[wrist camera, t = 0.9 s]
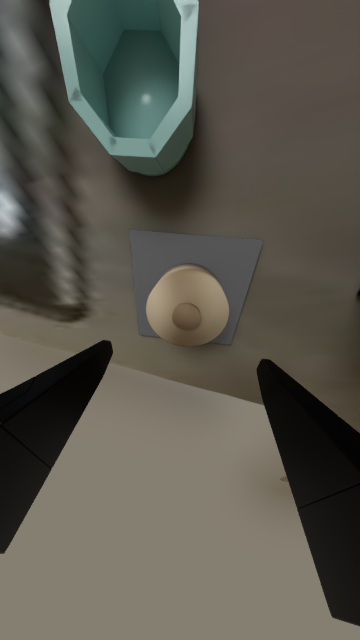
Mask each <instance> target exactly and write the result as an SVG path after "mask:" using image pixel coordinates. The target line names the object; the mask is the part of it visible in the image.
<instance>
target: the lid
mask: <svg viewBox="0 0 360 640" xmlns="http://www.w3.org/2000/svg"><path fill="white" fill-rule="evenodd" d="M146 314H147V318H148V321H149V324H150V325H151V327H152V329H153V330H154V331H155V332H156V333H157V334H158V335H159V336H160V337H161V338H162V339H164V340H166V341H168V342H170V343H172V344H175V345H179V346H187V347H190V346H198V345H202V344H205V343H207V342H210V341H211V340H213V339H214V338H216V337H217V336H218V335H219V334H220V333H221V332H222V330H223V329H224V327H225V326H226V324H227V321H228V317H229V305H228V301H227V298H226V296H225V294H224V291H223V289H222V287H221V284H220V282H219V280H218V278H217V277H216V276H215V274H214V273H213V272H212V271H210V270H209V269H208V268H206V267H204V266H202V265H199V264H194V263H184V264H179V265H176V266H174V267H172V268H170V269H169V270H168V271H166V272H165V274H164V275H163V276H162V277H161V279H160V280H159V281H158V283H157V284H156V286H155V287H154V288H153V290H152V291H151V293H150V295H149V297H148V300H147V304H146Z"/></svg>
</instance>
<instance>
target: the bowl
mask: <svg viewBox="0 0 360 640" xmlns="http://www.w3.org/2000/svg"><path fill="white" fill-rule="evenodd" d="M49 1H50V3H49V4H50V9H51V14H52V19H53V24H54V29H55V34H56V39H57V44H58V49H59V54H60V59H61V64H62V69H63V74H64V79H65V84H66V89H67V94H68V99H69V101H70V104H71V105H72V106H73V107H74V109H75V110H76V111H77V113H78V114H79V115H80V116H81V118H82V119H83V120H84V122H85V123H86V124H87V125H88V127H89V128H90V129H91V131H92V132H93V133H94V134H95V136H96V137H97V138H98V140H99V141H100V142H101V143H102V145H103V146H104V147H105V149H106V150H107V151H108V152H109V154H110V155H111V156H112V157H114V158H115V159H116V160H117V161H118V162H119V163H121V164H122V165H123V166H124V167H125V168H127V169H128V170H129V171H130V172H138V173H140V174H142V175H145V176H160V175H163V174H165V173H167V172H169V171H171V170H172V169H173V168H174V167H175V166H176V165H177V164H178V163H179V162H180V160H181V159H182V158H183V156H184V154H185V152H186V151H187V148H188V146H189V144H190V141H191V139H192V138H193V131H194V124H195V115H196V91H197V77H198V27H199V4H198V0H49Z"/></svg>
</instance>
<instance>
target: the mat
mask: <svg viewBox="0 0 360 640" xmlns="http://www.w3.org/2000/svg"><path fill="white" fill-rule="evenodd" d="M129 233H130V243H131V254H132V264H133V275H134V285H135V296H136V306H137V317H138V327H139V335H145V336H154V337H160V336H159V335H158V334H157V333H156V332H155V331H154V330H153V329H152V327H151V325H150V324H149V321H148V318H147V314H146V304H147V300H148V297H149V295H150V293H151V291H152V290H153V288H154V287H155V286H156V284H157V283H158V281H159V280H160V279H161V277H162V276H163V275H164V274H165V272H166V271H168V270H169V269H170V268H172V267H174V266H176V265H179V264H184V263H194V264H199V265H202V266H204V267H206V268H208V269H209V270H210V271H212V272H213V273H214V274H215V276H216V277H217V278H218V280H219V282H220V284H221V287H222V289H223V291H224V294H225V296H226V298H227V301H228V305H229V317H228V321H227V324H226V326H225V327H224V329H223V330H222V332H221V333H220V334H219V335H218V336H217V337H216V338H214V339H213V340H211V341H210V342H208V343H217V344H226V345H231V341H232V338H233V335H234V332H235V329H236V326H237V322H238V319H239V316H240V313H241V310H242V307H243V304H244V300H245V297H246V294H247V291H248V288H249V285H250V281H251V278H252V275H253V272H254V269H255V266H256V262H257V259H258V256H259V253H260V250H261V247H262V243H263V240H254V239H241V238H229V237H216V236H203V235H191V234H178V233H166V232H153V231H141V230H129Z"/></svg>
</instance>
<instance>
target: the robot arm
mask: <svg viewBox="0 0 360 640" xmlns="http://www.w3.org/2000/svg"><path fill="white" fill-rule="evenodd" d="M358 295H359V296H360V291H359V293H358ZM112 354H113V349H112V344H111V342H110V341H107V340H103V341H101V342H99V343H97V344H95V345H93V346H91V347H89V348H87V349H86V350H84V351H82V352H80V353H78V354H76V355H74V356H73V357H71V358H69V359H67V360H65V361H63V362H61V363H59V364H58V365H55V366H54V367H52V368H50V369H48V370H46V371H44V372H42V373H40V374H39V375H37V376H36V377H33V378H31V379H29V380H27V381H25V382H23V383H22V384H20V385H17V386H16V387H14V388H12V389H10V390H8V391H6V392H4V393H1V394H0V554H3V553H5V551H6V550H7V548H8V546H9V545H10V543H11V541H12V539H13V537H14V535H15V534H16V532H17V530H18V528H19V527H20V525H21V523H22V521H23V519H24V518H25V516H26V514H27V512H28V510H29V509H30V507H31V505H32V503H33V502H34V500H35V498H36V496H37V495H38V493H39V491H40V489H41V487H42V486H43V484H44V482H45V480H46V478H47V477H48V475H49V473H50V471H51V468H52V467H53V466H54V464H55V462H56V460H57V458H58V457H59V455H60V453H61V451H62V449H63V448H64V446H65V444H66V442H67V440H68V439H69V437H70V435H71V433H72V431H73V430H74V428H75V426H76V424H77V423H78V421H79V419H80V417H81V415H82V413H83V412H84V410H85V408H86V406H87V405H88V403H89V401H90V399H91V397H92V396H93V394H94V392H95V390H96V388H97V387H98V385H99V383H100V381H101V379H102V378H103V375H104V373H105V371H106V369H107V366H108V364H109V362H110V359H111V357H112ZM257 376H258V381H259V386H260V391H261V395H262V399H263V403H264V406H265V409H266V412H267V415H268V418H269V422H270V425H271V428H272V431H273V434H274V437H275V440H276V444H277V447H278V450H279V453H280V456H281V459H282V462H283V466H284V469H285V472H286V475H287V478H288V481H289V485H290V488H291V491H292V494H293V497H294V500H295V503H296V506H297V508H298V509H297V510H298V513H299V516H300V519H301V523H302V526H303V529H304V532H305V535H306V538H307V542H308V545H309V548H310V551H311V554H312V557H313V560H314V564H315V567H316V570H317V573H318V576H319V579H320V582H321V586H322V589H323V592H324V595H325V598H326V601H327V604H328V607H329V610H330V613H331V616H332V617H333V618H335V619H338V620H341V621H344V622H348V623H351V624H354V625H357V626H360V433H359V432H357V431H356V430H355V429H354V428H352V427H351V426H350V425H349V424H348V423H346V422H345V421H344V420H343V419H341V418H340V417H338V415H337V414H335V413H334V412H333V411H332V410H330V409H329V408H328V407H327V406H326V405H324V404H323V403H322V402H321V401H320V400H318V399H317V398H316V397H315V396H314V395H312V394H311V393H310V392H309V391H307V390H306V389H305V388H304V387H303V386H301V385H300V384H299V383H298V382H297V381H295V380H294V379H293V378H292V377H290V376H289V375H288V374H287V373H286V372H284V371H283V370H282V369H281V368H280V367H278V366H277V365H276V364H275V363H273V362H272V361H271V360H269V359H262V360H261V361H260V363H259V365H258V367H257Z"/></svg>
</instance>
